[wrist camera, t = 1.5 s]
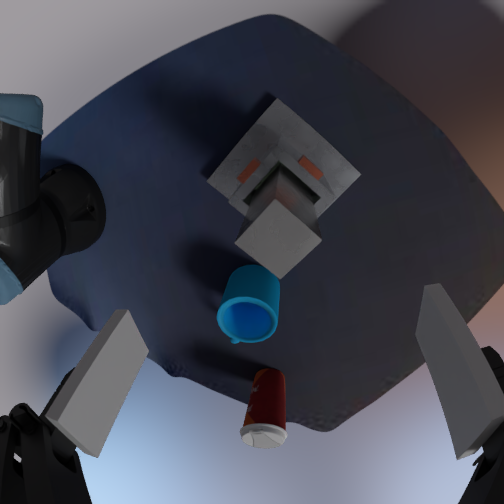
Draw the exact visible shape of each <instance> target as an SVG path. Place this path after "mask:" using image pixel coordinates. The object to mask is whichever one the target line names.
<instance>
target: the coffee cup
mask: <svg viewBox="0 0 504 504" xmlns="http://www.w3.org/2000/svg"><path fill="white" fill-rule="evenodd" d="M285 424H286V421H285V378H284V375H283V373H282V372H281V371H279V370H277V369H272V368H265V369H261V370H259V371H258V372H257V373H256V375H255V378H254V382H253V386H252V390H251V395H250V399H249V403H248V407H247V412H246V416H245V420H244V424H243V427H242V428H241V430H240V434H241V436H242V440H243V442H244V443H246V444H248V445H250V446H253V447H257V448H275V447H278V446H280V445H282V444H283V443H284V440H285V439H286V437H287V432H286V430H285V429H286V425H285Z"/></svg>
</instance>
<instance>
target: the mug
mask: <svg viewBox="0 0 504 504" xmlns="http://www.w3.org/2000/svg"><path fill="white" fill-rule="evenodd" d="M279 296H280V285H279V281H278V279H277V277H276V276H275V275H274V274H273V273H272V272H270V271H269V270H268V269H267V268H265V267H263V266H259V265H245V266H242V267H239V268H238V269H236V270H235V271H234V272H233V273H232V274H231V276H230V277H229V280H228V283H227V286H226V289H225V291H224V294H223V297H222V300H221V303H220V306H219V309H218V314H217V320H218V325H219V326H220V328H221V329H222V331H223V332H224V333H226V334H227V335H228V336H229V337H230V341H231V342H232V343H234V344H236V343H238V342H239V341H242V342H259V341H263V340H265V339H267V338H269V337H270V336H271V335H272V334H273V333H274V332H275V330H276V327H277V324H278V310H279Z"/></svg>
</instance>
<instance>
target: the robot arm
mask: <svg viewBox="0 0 504 504" xmlns="http://www.w3.org/2000/svg"><path fill="white" fill-rule="evenodd" d="M42 118H43V103H42V101H41V99H40V98H39V97H37V96H35V95H26V94H3V93H2V94H1V93H0V305H4V304H7V303H8V302H9V301H11V300H12V299H13V298H15V297H16V296H17V295H18V294H21V293H22V292H23V291H24V290H25V289H26V288H27V287H28V286H29V285H30V284H31V283H32V282H33V281H34V280H35V279H36V278H38V276H40V275H41V274H42V273H43V272H44V271H45V270H46V269H47V268H48V267H50V266H51V265H52V264H53V263H54V262H55V261H56V260H58V259H59V258H60V257H61V256H64V255H68V254H72V253H75V252H79V251H83V250H85V249H87V248H88V247H90V246H91V245H92V244H93V243H95V242H96V241H97V240H98V239H99V238H100V236H101V234H102V232H103V230H104V226H105V221H106V209H105V203H104V199H103V196H102V193H101V191H100V189H99V187H98V185H97V183H96V182H95V180H94V179H93V178H92V176H91V175H90V174H89V173H88V172H86V171H85V170H84V169H82V168H81V167H78V166H76V165H72V164H65V165H61V166H58V167H56V168H53V169H51V170H50V171H48V172H47V173H46V174H45V175H44V176H43V177H42V178H41V179H40V153H41V139H42V134H43V130H42ZM415 336H416V338H417V341H418V343H419V346H420V348H421V351H422V353H423V356H424V358H425V361H426V363H427V366H428V369H429V371H430V374H431V376H432V379H433V382H434V385H435V387H436V391H437V393H438V396H439V399H440V402H441V405H442V408H443V411H444V415H445V418H446V421H447V424H448V428H449V431H450V435H451V438H452V442H453V446H454V450H455V454H456V458H457V460H459V459H461V458H464V457H467V456H469V455H472V454H474V453H475V452H476V451H478V450H479V448H480V447H481V446H482V447H483V451H484V452H483V453H482V455H480V456H479V457H478V458H477V460H475V462H474V463H473V466H475V465H476V464H477V463H478V465H477V467H476V469H475V472H474V474H473V476H472V478H471V480H470V482H469V484H468V486H467V488H466V490H465V492H464V494H463V496H462V498H461V499H460V502H459V503H458V504H504V362H503V360H502V359H501V357H500V355H499V354H498V353H497V352H496V351H495V350H494V349H493V348H491V347H490V346H487V347H484V348H480V347H479V345H478V343H477V341H476V340H475V338H474V336H473V335H472V333H471V331H470V329H469V328H468V326H467V324H466V323H465V321H464V319H463V318H462V316H461V315H460V313H459V311H458V310H457V308H456V307H455V305H454V304H453V302H452V301H451V299H450V297H449V296H448V294H447V293H446V291H445V290H444V289H443V287H442V286H441V284H440V283H439V284H432V285H426V286H424V292H423V298H422V303H421V309H420V314H419V319H418V324H417V328H416V333H415ZM148 352H149V350H148V348H147V347H146V345H145V343H144V341H143V339H142V337H141V335H140V333H139V331H138V329H137V327H136V325H135V323H134V321H133V319H132V317H131V314H130V312H129V310H115V312H114V313H113V314H112V316H111V317H110V319H109V320H108V321H107V323H106V324H105V325H104V327H103V328H102V330H101V331H100V332H99V334H98V335H97V337H96V338H95V340H94V341H93V343H92V344H91V345H90V347H89V348H88V350H87V352H86V353H85V354H84V356H83V357H82V359H81V360H80V361H79V363H78V364H77V366H76V367H75V368H73V369H72V370H71V371H70V372H68V373H67V374H66V375H65V377H64V378H63V380H62V382H61V385H59V386H58V388H57V389H56V392H54V394H53V396H52V397H51V399H50V400H49V402H48V404H47V405H46V407H45V409H44V410H43V412H42V413H41V415H40V416H38V415H37V414H36V413H35V412H34V411H33V410H32V409H31V408H30V407H29V406H28V405H27V404H25V403H20V404H18V405H16V406H14V408H13V409H12V410H11V412H10V413H9V416H6V415H4V416H1V417H0V504H92V502H91V499H90V496H89V492H88V489H87V486H86V482H85V479H84V475H83V471H82V467H81V464H80V459H79V456H78V453H77V452H76V451H75V449H76V447H78V448H79V449H80V450H82V451H83V452H84V453H86V454H88V455H91V456H94V457H96V458H98V457H99V454H100V452H101V450H102V448H103V446H104V443H105V441H106V439H107V436H108V435H109V432H110V430H111V428H112V426H113V424H114V422H115V419H116V417H117V415H118V413H119V411H120V409H121V407H122V405H123V403H124V400H125V398H126V396H127V394H128V392H129V390H130V388H131V386H132V384H133V382H134V380H135V378H136V376H137V374H138V372H139V370H140V368H141V366H142V364H143V362H144V360H145V358H146V356H147V354H148ZM14 453H16V454H17V455H18V456H19V457H20V458H22V460H21V462H18V461H17V460H16V459H14Z"/></svg>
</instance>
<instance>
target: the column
mask: <svg viewBox="0 0 504 504" xmlns="http://www.w3.org/2000/svg"><path fill="white" fill-rule="evenodd" d="M254 189H255V190H256V191H255V193H254V195H253V198H252V200H251V203H250V205H249V208H248V210H247V213H246V215H245V218H244V220H243V223H242V225H241V228H240V230H239V233H238V235H237V238H236V240H235V244H236V245H237V246H239V247H240V248H241V249H242V250H244V251H245V252H246V253H247V254H249V255H250V256H251V257H253V258H254V259H255V260H256V261H258V262H259V263H260V264H261V265H263V266H264V267H265V268H267V269H268V270H269V271H270V272H272V273H273V274H274V275H275V276H277V277H278V278H279V279H281V278H282V277H283V276H284V275H285V274H287V273H288V272H289V271H290V270H291V269H292V268H293V267H294V266H295V265H296V264H297V263H298V262H300V261H301V260H302V259H303V258H304V257H305V256H306V255H307V254H308V253H309V252H310V251H311V250H312V249H313V248H315V247H316V246H317V245H318V244H319V243H320V242H321V241H322V237H321V232H320V228H319V224H318V220H317V216H316V212H315V208H314V204H313V200H312V196H311V192H310V187H309V186H308V185H307V184H305V183H304V182H303V181H302V180H301V179H300V178H299V177H298V176H296V175H295V174H294V173H293V172H292V171H291V170H290V169H288V168H287V167H286V166H285V165H284V164H283V163H282V162H280V161H278V162H277V163H276V164H275V165H274V166H273V167H272V168H271V170H270V171H269V172H268V173H267V174H266V175H265V176H264V177H263V178H262V180H261V181H260V182H259V183H258V184H257V185H256V186H255V188H254Z"/></svg>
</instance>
